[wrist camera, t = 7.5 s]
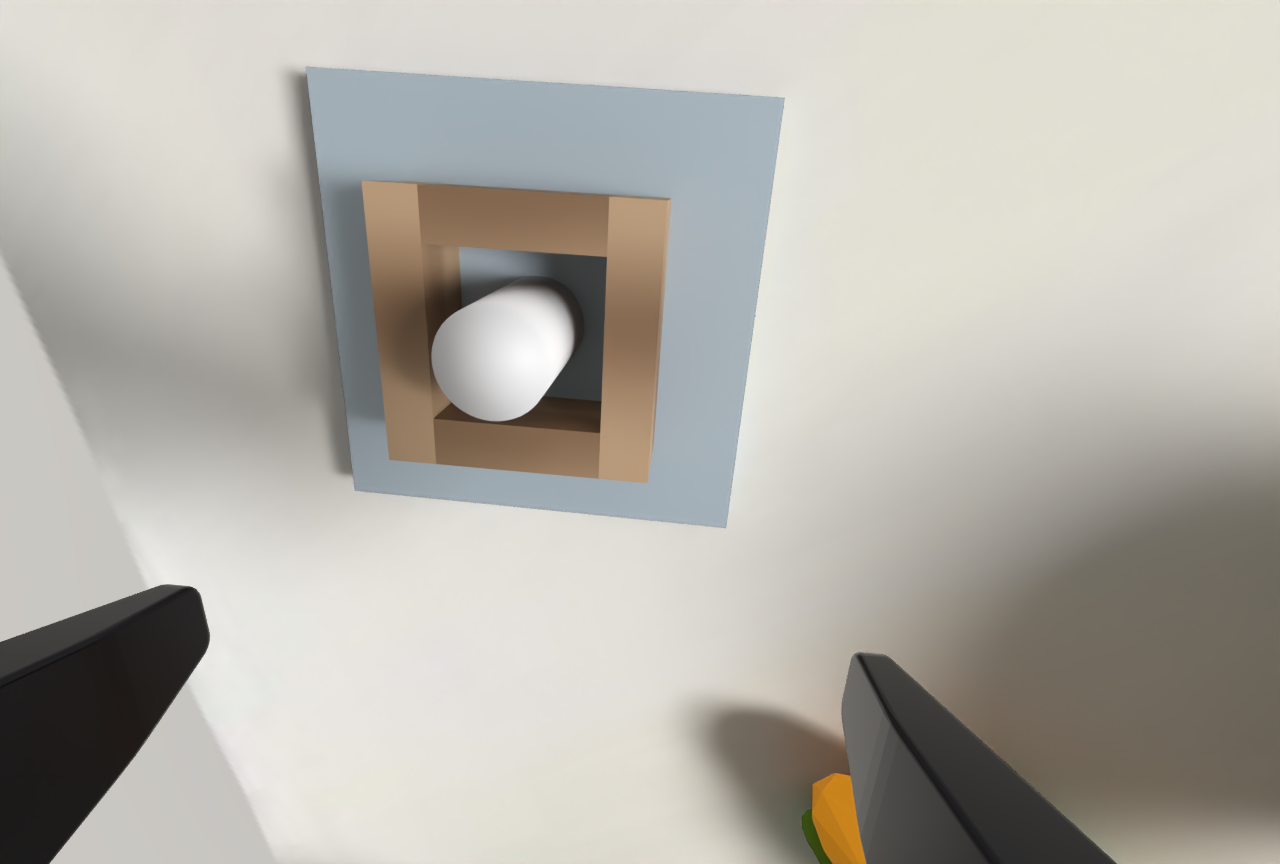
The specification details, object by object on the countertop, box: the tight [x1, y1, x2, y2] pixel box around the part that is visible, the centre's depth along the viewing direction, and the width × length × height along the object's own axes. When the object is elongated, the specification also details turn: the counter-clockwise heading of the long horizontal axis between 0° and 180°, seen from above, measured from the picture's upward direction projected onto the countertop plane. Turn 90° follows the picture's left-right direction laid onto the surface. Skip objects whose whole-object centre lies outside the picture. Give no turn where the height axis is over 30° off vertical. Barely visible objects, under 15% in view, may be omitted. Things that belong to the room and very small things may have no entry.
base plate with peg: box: [306, 67, 785, 528], centre depth 16 cm, size 12×12×6 cm
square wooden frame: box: [361, 181, 672, 483], centre depth 17 cm, size 7×7×2 cm
